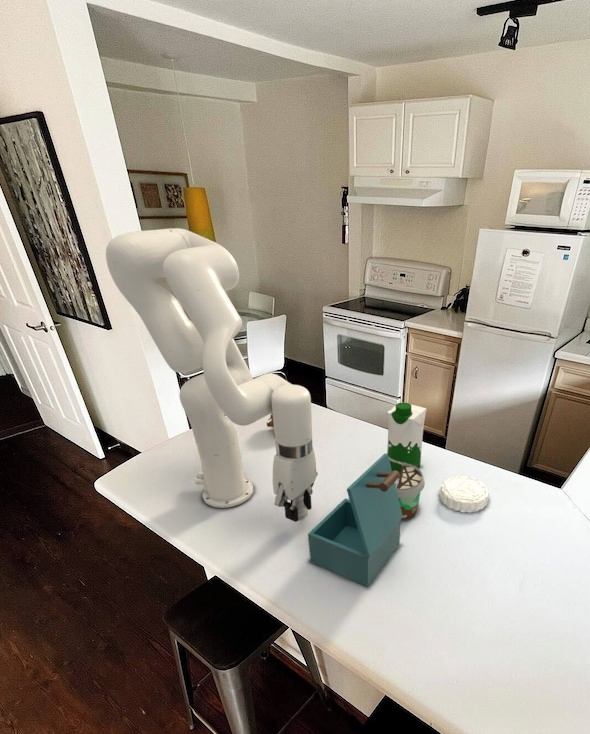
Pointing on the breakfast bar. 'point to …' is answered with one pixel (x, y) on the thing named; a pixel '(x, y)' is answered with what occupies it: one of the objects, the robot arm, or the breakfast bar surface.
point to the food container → (409, 490)
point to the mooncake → (464, 494)
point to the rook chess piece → (301, 507)
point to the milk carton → (405, 435)
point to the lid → (375, 503)
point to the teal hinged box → (348, 546)
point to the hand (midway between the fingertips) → (298, 512)
